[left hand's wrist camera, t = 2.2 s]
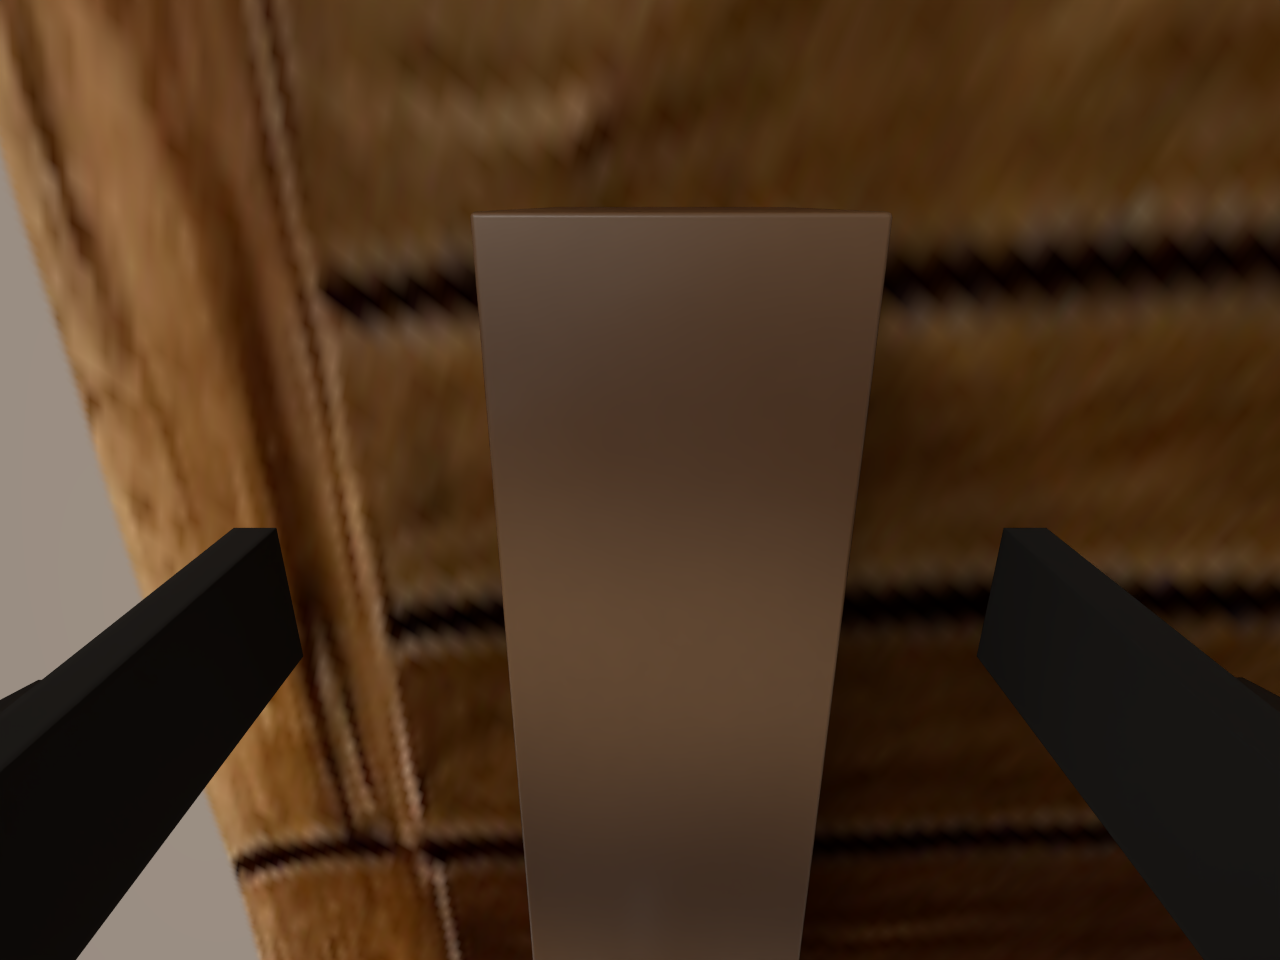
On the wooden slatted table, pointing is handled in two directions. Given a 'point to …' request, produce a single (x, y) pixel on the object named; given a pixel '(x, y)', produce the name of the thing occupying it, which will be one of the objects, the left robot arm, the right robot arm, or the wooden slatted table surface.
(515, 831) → the wooden slatted table surface
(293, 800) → the wooden slatted table surface
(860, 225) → the bar
